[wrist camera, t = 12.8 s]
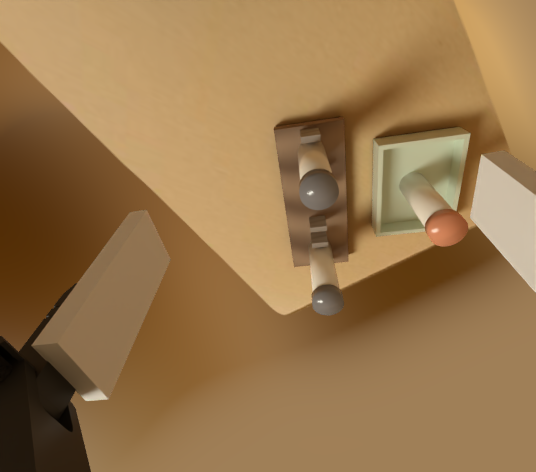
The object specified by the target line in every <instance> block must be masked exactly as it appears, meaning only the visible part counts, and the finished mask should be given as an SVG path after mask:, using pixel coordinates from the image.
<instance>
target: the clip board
mask: <svg viewBox="0 0 536 472" xmlns="http://www.w3.org/2000/svg"><path fill="white" fill-rule="evenodd" d="M274 133H275V140H276V147H277V154H278V161H279V167H280V174H281V181H282V188H283V195H284V201H285V208H286V215H287V222H288V228H289V235H290V242H291V249H292V256H293V262H294V267H298V266H308V265H310V260H309V250H308V246H309V244H310V242H312V248H317V247H327V246H328V241H329V242H330V245H331V249H332V254H333V259H334V263H339V262H348V230H347V196H346V163H345V129H344V118H343V117H337V118H331V119H324V120H317V121H311V122H304V123H297V124H291V125H284V126H278V127H274ZM317 141H321V142H322V144H323V145H324V148H325V152H326V155H327V158H328V161H329V165H330V168H331V171H332V174H333V175H334V176H335V178H336V181H337V184H338V187H339V195H338V198H337V200H336V202H335V203H334V204H333V205H332V206H330V207H329V208H326V209H323V210H313V209H310V208H308V207H306V206H305V205H304V204H303V203H302V201H301V199H300V194H299V183H300V173H299V163H298V147H299V145H300V143H301V144H303V143H310V142H317Z"/></svg>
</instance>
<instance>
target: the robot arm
mask: <svg viewBox="0 0 536 472" xmlns="http://www.w3.org/2000/svg"><path fill="white" fill-rule="evenodd" d="M470 218H471V219H472V220H473V222H474V223H475V224H476V225H477V226H478V227H479V228H480V230H481V231H482V232H483V233H484V234H485V235H486V236H487V237H488V239H489V240H490V241H491V242H492V243H493V244H494V246H495V247H496V248H497V249H498V250H499V251H500V252H501V253H502V255H503V256H504V257H505V258H506V259H507V260H508V262H509V263H510V264H511V265H512V266H513V267H514V268H515V269H516V271H517V272H518V273H519V274H520V275H521V276H522V278H523V279H524V280H525V281H526V282H527V283H528V284H529V286H530V287H531V288H532V289H533V290H534V291H535V292H536V171H535V170H533V169H532V168H530V167H529V166H527V165H526V164H524V163H523V162H521V161H520V160H518V159H517V158H515V157H514V156H512V155H511V154H509V153H508V152H506V151H505V150H503V151H497V152H491V153H485V154H481V159H480V165H479V170H478V176H477V182H476V187H475V193H474V199H473V204H472V210H471V216H470ZM169 262H170V258H169V255H168V253H167V251H166V249H165V247H164V245H163V243H162V241H161V239H160V237H159V235H158V232H157V230H156V228H155V226H154V224H153V222H152V220H151V218H150V216H149V214H148V212H147V210H142V211H136V212H130V213H129V215H128V216H127V217H126V219H125V220H124V221H123V222H122V224H121V225H120V227H119V228H118V229H117V231H116V232H115V233H114V235H113V236H112V237H111V239H110V240H109V242H108V243H107V244H106V245H105V247H104V248H103V250H102V251H101V252H100V254H99V255H98V256H97V258H96V259H95V260H94V262H93V263H92V265H91V266H90V267H89V268H88V270H87V271H86V272H85V274H84V275H83V276H82V278H81V279H80V281H79V282H78V283H76V284H74V285H73V286H72V287H71V288H70V289H69V290H67V291H66V292H65V293H64V294H63V295H62V296H61V298H60V299H59V300H58V301H57V303H56V304H55V305H54V309H51V311H50V312H49V313H48V314H47V316H46V319H44V320H43V321H42V322H41V324H40V325H39V326H38V328H37V329H36V330H35V331H34V333H33V334H32V335H31V337H30V338H29V339H28V341H27V342H26V343H25V345H24V346H23V347H22V349H21V350H20V351H19V352H18V351H17V350H16V349H15V348H14V347H13V346H12V345H11V344H10V343H8V342H7V341H6V340H5V339H4V338H3V337H2V336H0V472H91V470H90V466H89V462H88V458H87V454H86V449H85V445H84V441H83V437H82V433H81V429H80V425H79V421H78V417H77V413H76V409H75V407H74V406H73V404H72V403H71V402H70V400H71V398H72V396H73V394H74V392H75V391H77V392H78V393H79V394H80V395H81V396H82V397H83V398H84V399H85V400H86V401H92V400H105V399H109V397H110V395H111V393H112V390H113V388H114V386H115V384H116V381H117V379H118V377H119V375H120V372H121V370H122V368H123V366H124V363H125V361H126V359H127V357H128V354H129V352H130V350H131V348H132V345H133V343H134V341H135V339H136V336H137V334H138V332H139V330H140V327H141V325H142V323H143V321H144V318H145V316H146V314H147V312H148V309H149V307H150V305H151V302H152V300H153V298H154V296H155V294H156V291H157V289H158V287H159V285H160V282H161V280H162V278H163V276H164V273H165V271H166V269H167V267H168V264H169Z"/></svg>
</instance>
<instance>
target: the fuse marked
mask: <svg viewBox="0 0 536 472" xmlns="http://www.w3.org/2000/svg"><path fill="white" fill-rule="evenodd" d="M399 189H400V191H401V193H402V194H403V196H404V197H405V199H406V200H407V202H408V203H409V205H410V206H411V208H412V209H413V211H414V212H415V214H416V215H417V216H418V218H419V219H420V221H421V222H422V224H423V225H424V227H425V232H426V233H427V235H428V236H429V238H430V239H431V241H432V242H433V243H434V244H436V245H438V246H450V245H453V244H456V243H457V242H459V241H460V240H462V239H463V237H464V236H465V235H466V233H467V231H468V224H467V222H466V220H465V219H464V218H463V217H462V216H461V215H460V214H459V213H458V212H457V211H455V210H453V209H452V208H451V206H450V205H449V204H448V203H447V202H446V201H445V200H444V198H443V197H442V196H441V195H440V194H439V193H438V192H437V191H436V189H435V188H434V187H433V186H432V185H431V184H430V183H429V181H428V180H427V179H426V178H425V177H424V176H423V175H422V174H421V173H418V172H411V173H408V174H406V175H405V176H404V177H403V178H402V179H401V181H400V183H399Z"/></svg>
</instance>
